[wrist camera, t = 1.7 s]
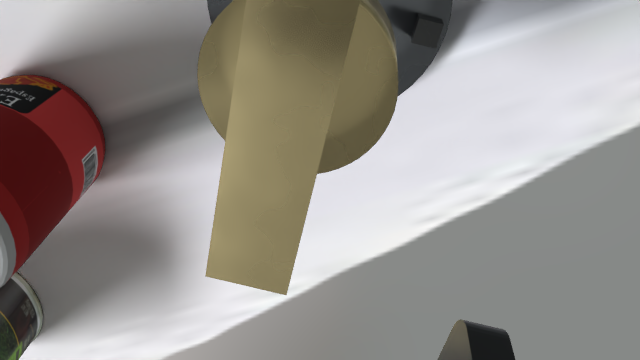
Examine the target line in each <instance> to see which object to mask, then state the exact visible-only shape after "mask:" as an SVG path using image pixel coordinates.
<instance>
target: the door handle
mask: <svg viewBox="0 0 640 360" xmlns="http://www.w3.org/2000/svg"><path fill="white" fill-rule="evenodd" d="M197 77H198V87H199V92H200V96H201V100H202V103H203V106H204V109H205V111H206V113H207V115H208V117H209V119H210V121H211V123H212V124H213V126H214V127H215V129H216V130H217V132H218V133H219V134H220V135H221V137H222V138H223V139H224V140H225V147H224V154H223V161H222V168H221V175H220V181H219V188H218V195H217V202H216V208H215V215H214V222H213V229H212V235H211V242H210V249H209V256H208V262H207V269H206V276H207V277H211V278H215V279H219V280H224V281H228V282H232V283H237V284H241V285H245V286H249V287H254V288H258V289H262V290H266V291H271V292H275V293H279V294H283V295H286V294H287V290H288V286H289V283H290V279H291V275H292V271H293V267H294V263H295V259H296V255H297V251H298V247H299V243H300V239H301V235H302V231H303V227H304V223H305V219H306V215H307V211H308V207H309V203H310V199H311V195H312V191H313V187H314V183H315V179H316V175H317V174H319V173H325V172H329V171H332V170H336V169H339V168H341V167H343V166H346V165H348V164H350V163H352V162H353V161H355V160H357V159H358V158H360V157H361V156H362V155H364V154H365V153H366V152H368V151H369V150H370V149H371V148H372V147H373V146H374V145H375V144H376V143H377V141H378V140H379V139H380V137H381V136H382V135H383V133H384V132H385V130H386V128H387V126H388V125H389V123H390V121H391V118H392V115H393V113H394V110H395V106H396V102H397V95H398V69H397V53H396V42H395V36H394V32H393V29H392V26H391V23H390V20H389V18H388V16H387V14H386V12H385V10H384V9H383V7H382V6H381V4H380V2H379V1H378V0H233V1H232V2H231V3H230V4H229V5H228V6H227V7H226V8H225V9H224V10H223V11H222V12H221V13H220V14H219V15H218V16H217V18H216V19H215V21H214V22H213V23H212V25H211V26H210V28H209V30H208V32H207V34H206V36H205V38H204V41H203V44H202V47H201V50H200V54H199V60H198V73H197Z"/></svg>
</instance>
